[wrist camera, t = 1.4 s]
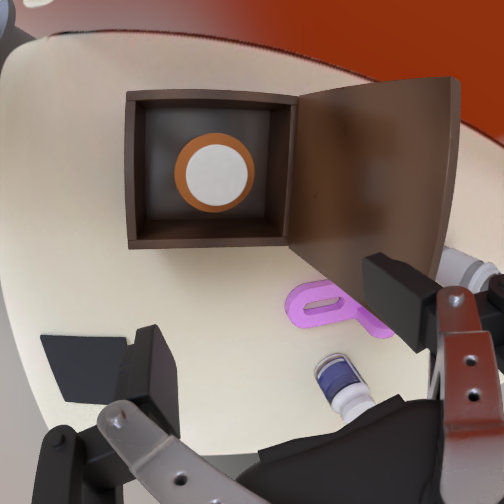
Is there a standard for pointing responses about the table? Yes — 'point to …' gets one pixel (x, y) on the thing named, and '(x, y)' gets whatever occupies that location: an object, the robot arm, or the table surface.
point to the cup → (464, 271)
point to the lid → (375, 176)
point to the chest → (169, 147)
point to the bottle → (214, 172)
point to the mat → (85, 366)
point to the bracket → (330, 308)
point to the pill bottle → (343, 387)
